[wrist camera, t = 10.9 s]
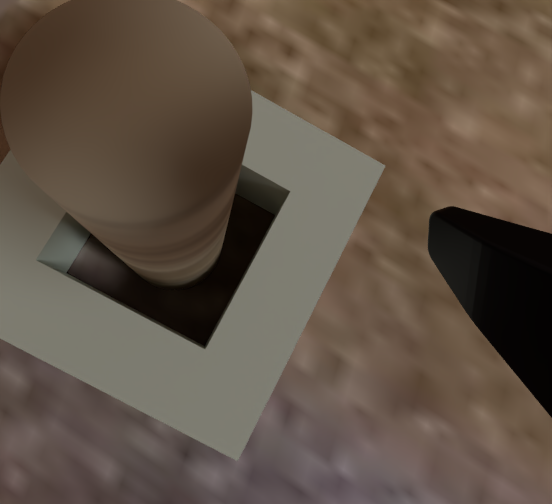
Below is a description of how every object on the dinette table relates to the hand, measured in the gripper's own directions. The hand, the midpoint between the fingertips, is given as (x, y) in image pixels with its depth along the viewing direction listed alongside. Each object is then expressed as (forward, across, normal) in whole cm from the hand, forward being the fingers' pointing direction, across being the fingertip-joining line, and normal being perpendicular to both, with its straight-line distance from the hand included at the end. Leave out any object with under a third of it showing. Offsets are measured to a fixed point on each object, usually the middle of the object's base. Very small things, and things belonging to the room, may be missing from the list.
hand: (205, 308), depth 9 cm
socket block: (+12, 0, +7) cm, 14 cm away
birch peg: (+12, 0, +7) cm, 14 cm away
